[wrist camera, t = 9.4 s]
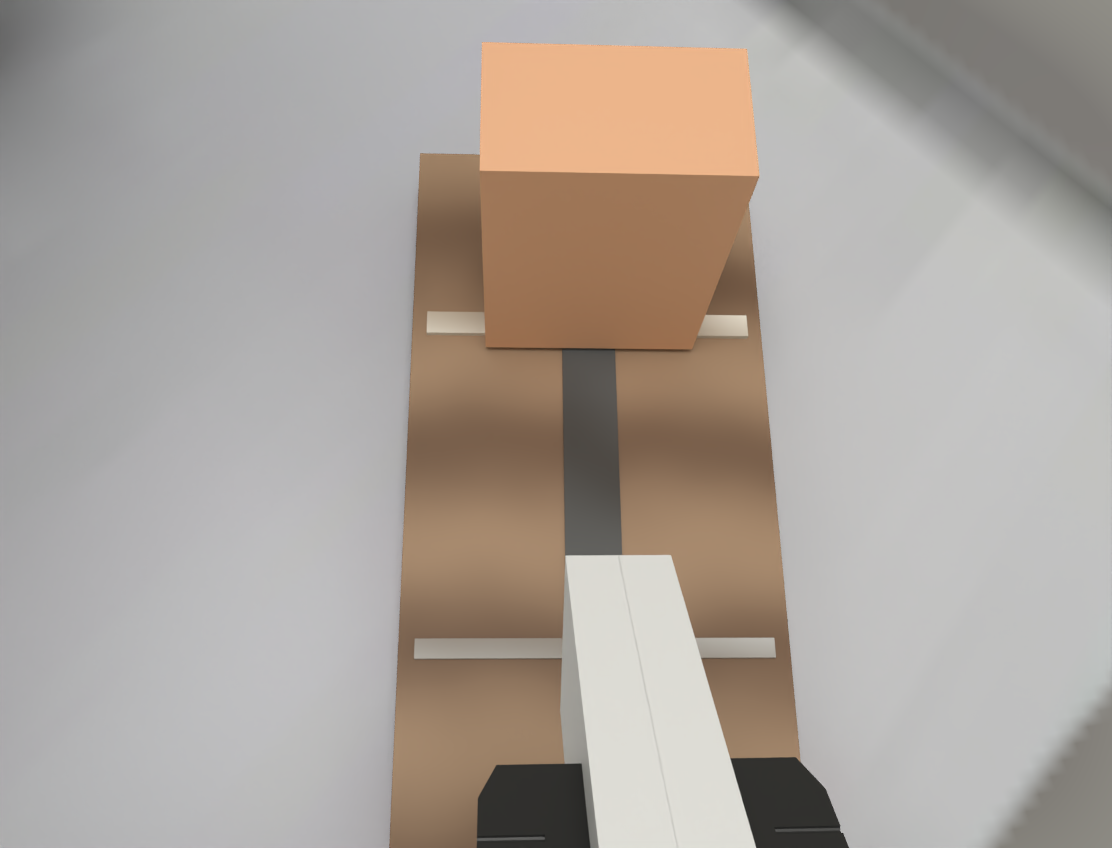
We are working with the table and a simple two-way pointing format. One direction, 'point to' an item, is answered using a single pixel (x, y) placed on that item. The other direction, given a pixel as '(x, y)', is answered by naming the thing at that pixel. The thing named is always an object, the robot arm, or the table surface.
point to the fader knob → (610, 190)
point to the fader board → (568, 518)
